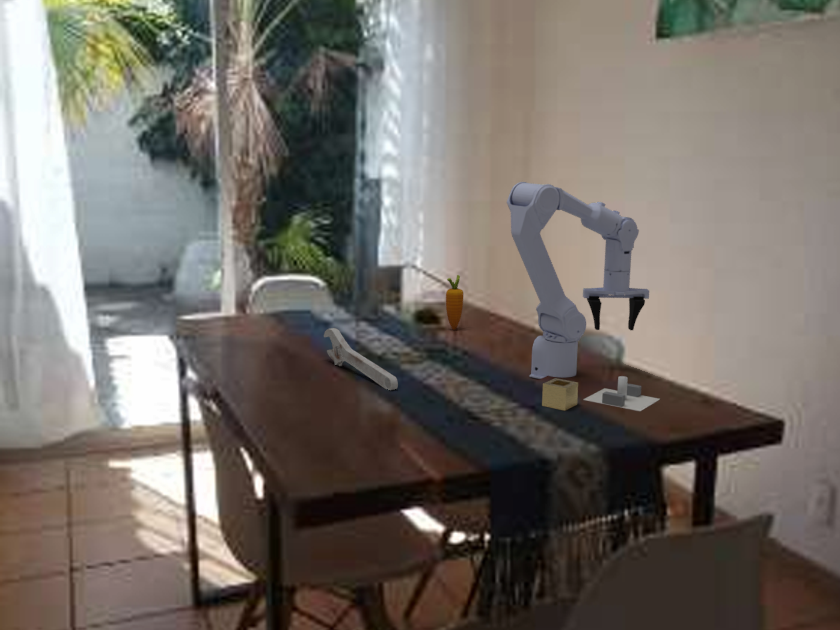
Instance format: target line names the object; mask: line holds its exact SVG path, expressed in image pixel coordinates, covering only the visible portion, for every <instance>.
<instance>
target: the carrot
mask: <svg viewBox="0 0 840 630" xmlns="http://www.w3.org/2000/svg"><path fill="white" fill-rule="evenodd" d="M460 279H461V275H459V274H457V275H456V280H455V281H453V280H452V278H451V277H448V278H447V279H446V280H447V282H448V283H449V284H450V286H451V288H449V289H447V290H446V293H445V309H446V315H447V320H448V322H449V325H450V327H451V329H452V330H453V331H456V329H457V327H458V326H459V324H460V321H461V318H462V315H463V314H462V313H463V307H464V290H463V289H461V288H459V283H460Z"/></svg>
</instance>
